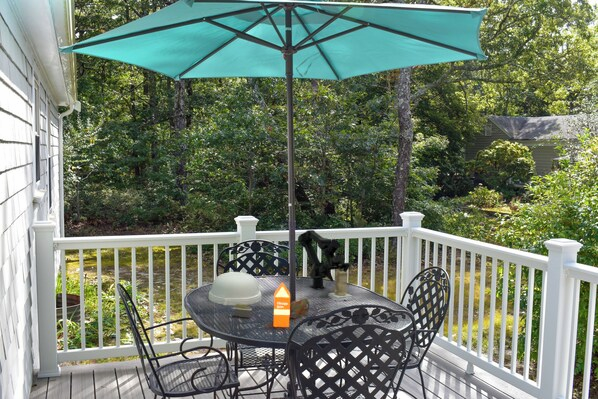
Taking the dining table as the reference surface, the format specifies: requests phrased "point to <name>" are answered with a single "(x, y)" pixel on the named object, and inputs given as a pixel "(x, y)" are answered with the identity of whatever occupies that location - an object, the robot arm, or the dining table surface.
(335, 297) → the stone trivet
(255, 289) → the dome cover
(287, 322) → the orange juice
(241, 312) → the platform
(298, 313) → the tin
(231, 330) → the dining table surface
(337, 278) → the oak block
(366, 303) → the dining table surface
